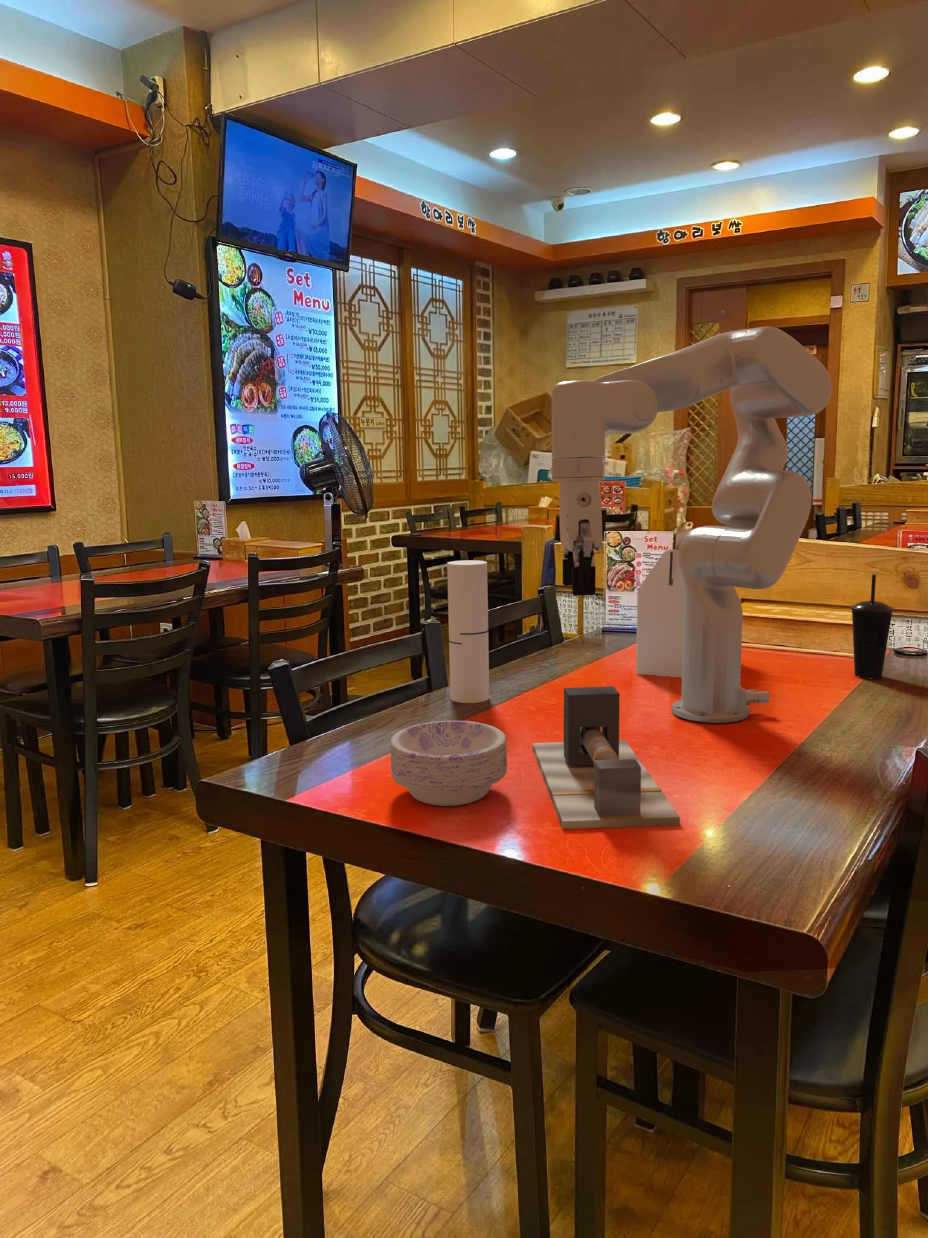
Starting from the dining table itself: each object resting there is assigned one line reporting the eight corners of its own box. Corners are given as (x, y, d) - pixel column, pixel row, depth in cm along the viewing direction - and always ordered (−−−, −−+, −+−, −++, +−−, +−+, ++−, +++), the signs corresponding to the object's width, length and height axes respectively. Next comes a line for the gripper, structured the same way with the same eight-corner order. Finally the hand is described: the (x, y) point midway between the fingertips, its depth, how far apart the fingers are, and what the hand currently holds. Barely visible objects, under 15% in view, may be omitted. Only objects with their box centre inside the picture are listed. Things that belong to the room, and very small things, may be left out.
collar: (563, 756, 129) (563, 687, 127) (612, 754, 129) (613, 686, 128) (568, 765, 125) (568, 695, 123) (618, 764, 126) (619, 693, 124)
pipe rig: (532, 749, 137) (532, 704, 136) (625, 746, 138) (625, 701, 136) (562, 829, 108) (562, 772, 106) (679, 825, 108) (680, 768, 107)
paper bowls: (415, 824, 110) (414, 761, 109) (376, 784, 124) (374, 728, 122) (527, 803, 116) (527, 743, 115) (478, 767, 130) (477, 714, 128)
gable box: (702, 680, 177) (706, 536, 172) (635, 674, 183) (637, 535, 178) (722, 657, 197) (725, 527, 192) (661, 652, 202) (663, 526, 198)
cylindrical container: (485, 703, 163) (483, 564, 159) (446, 702, 165) (443, 564, 160) (492, 693, 170) (490, 560, 166) (454, 692, 172) (451, 560, 167)
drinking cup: (892, 674, 178) (898, 572, 175) (886, 682, 172) (893, 577, 169) (850, 670, 182) (856, 571, 179) (843, 678, 176) (848, 575, 173)
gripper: (616, 470, 121) (615, 598, 124) (594, 469, 138) (593, 581, 141) (560, 472, 121) (560, 600, 124) (544, 470, 138) (545, 582, 141)
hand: (578, 589), depth 132 cm, fingers open, 9 cm apart
